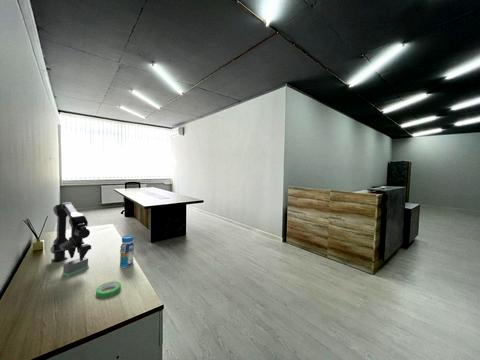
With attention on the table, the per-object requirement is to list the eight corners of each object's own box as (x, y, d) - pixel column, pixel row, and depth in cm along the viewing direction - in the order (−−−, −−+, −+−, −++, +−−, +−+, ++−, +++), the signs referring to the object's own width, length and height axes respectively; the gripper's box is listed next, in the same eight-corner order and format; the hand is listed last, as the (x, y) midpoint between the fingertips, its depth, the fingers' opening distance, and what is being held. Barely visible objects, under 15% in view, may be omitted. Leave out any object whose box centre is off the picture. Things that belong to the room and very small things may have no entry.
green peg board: (62, 274, 119) (62, 267, 119) (83, 266, 131) (83, 259, 131) (67, 276, 118) (67, 269, 118) (88, 267, 129) (88, 261, 129)
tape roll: (102, 301, 98) (102, 295, 98) (92, 293, 104) (92, 288, 104) (124, 290, 107) (124, 285, 107) (114, 283, 113) (114, 279, 113)
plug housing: (63, 271, 120) (63, 263, 120) (82, 264, 130) (83, 256, 130) (68, 273, 118) (68, 265, 118) (87, 265, 128) (88, 258, 128)
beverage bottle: (118, 264, 135) (119, 236, 135) (132, 261, 141) (133, 234, 140) (120, 269, 129) (121, 239, 128) (134, 266, 134) (135, 237, 134)
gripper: (52, 236, 119) (51, 261, 119) (71, 241, 113) (71, 267, 113) (73, 231, 129) (72, 254, 130) (92, 235, 123) (91, 260, 124)
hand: (76, 259), depth 124 cm, fingers open, 9 cm apart
